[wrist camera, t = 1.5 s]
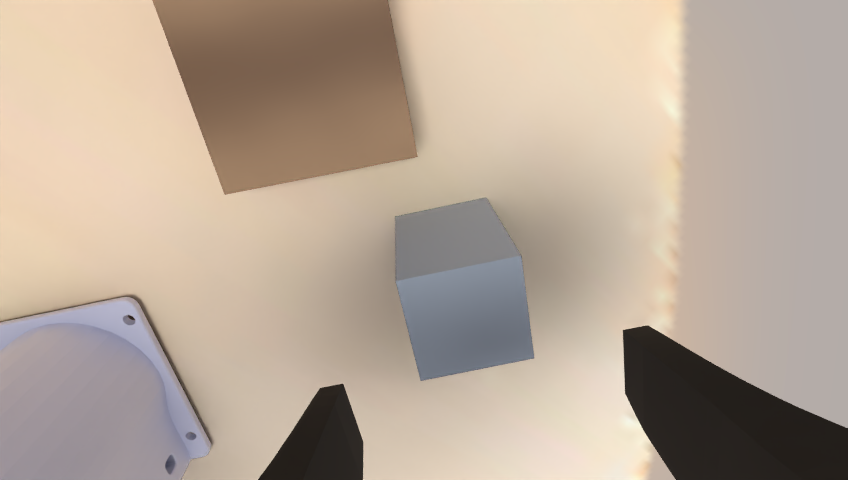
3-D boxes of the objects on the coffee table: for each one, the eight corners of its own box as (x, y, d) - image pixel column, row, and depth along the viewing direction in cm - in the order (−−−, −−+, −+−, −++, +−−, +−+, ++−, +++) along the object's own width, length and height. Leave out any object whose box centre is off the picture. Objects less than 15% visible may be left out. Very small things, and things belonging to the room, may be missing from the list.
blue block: (498, 278, 21) (534, 358, 16) (414, 295, 22) (420, 380, 16) (486, 197, 20) (521, 255, 14) (395, 216, 20) (395, 281, 14)
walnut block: (414, 140, 19) (417, 156, 16) (249, 173, 19) (225, 194, 16) (376, -54, 16) (373, -75, 14) (184, -15, 16) (142, -28, 14)
